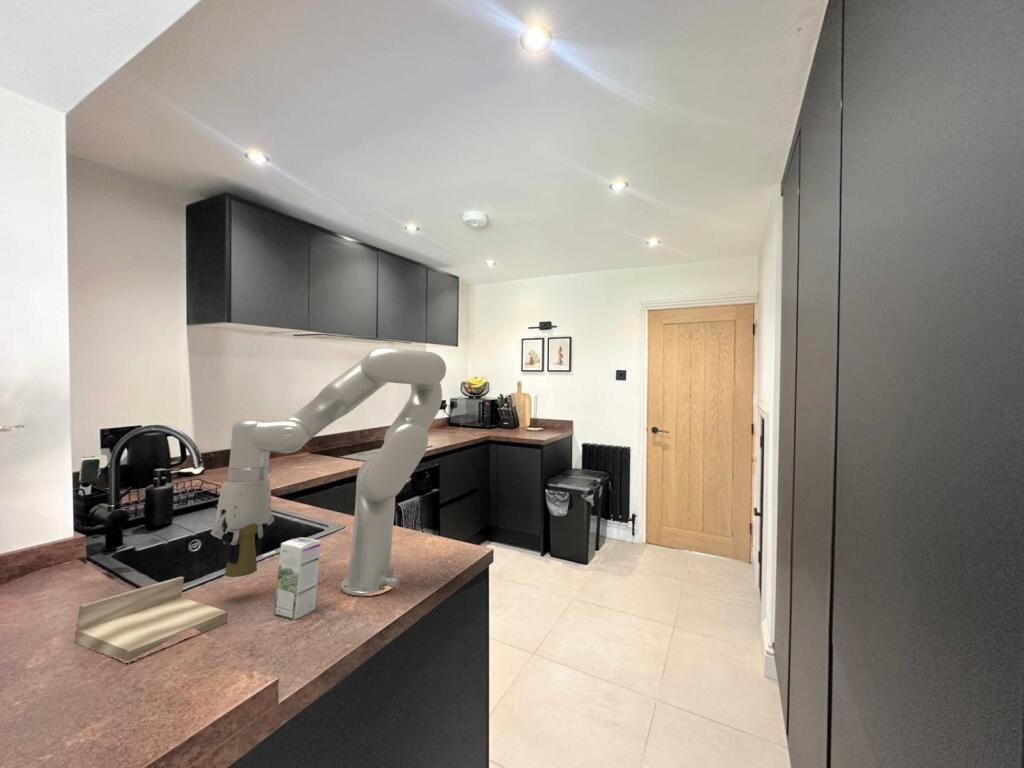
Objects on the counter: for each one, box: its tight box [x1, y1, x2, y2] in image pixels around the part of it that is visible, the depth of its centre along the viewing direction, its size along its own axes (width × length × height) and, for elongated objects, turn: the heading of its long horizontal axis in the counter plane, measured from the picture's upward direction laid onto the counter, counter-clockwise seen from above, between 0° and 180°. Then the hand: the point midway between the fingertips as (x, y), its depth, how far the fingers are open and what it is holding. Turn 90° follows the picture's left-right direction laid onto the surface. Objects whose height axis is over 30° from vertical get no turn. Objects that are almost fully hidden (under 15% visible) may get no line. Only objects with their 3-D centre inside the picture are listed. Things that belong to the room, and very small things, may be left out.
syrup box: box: [273, 536, 322, 621], centre depth 87 cm, size 6×6×14 cm
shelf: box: [73, 576, 229, 661], centre depth 76 cm, size 15×16×6 cm
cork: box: [224, 523, 258, 578], centre depth 92 cm, size 6×6×11 cm
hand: (242, 558), depth 91 cm, fingers closed on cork, 4 cm apart
